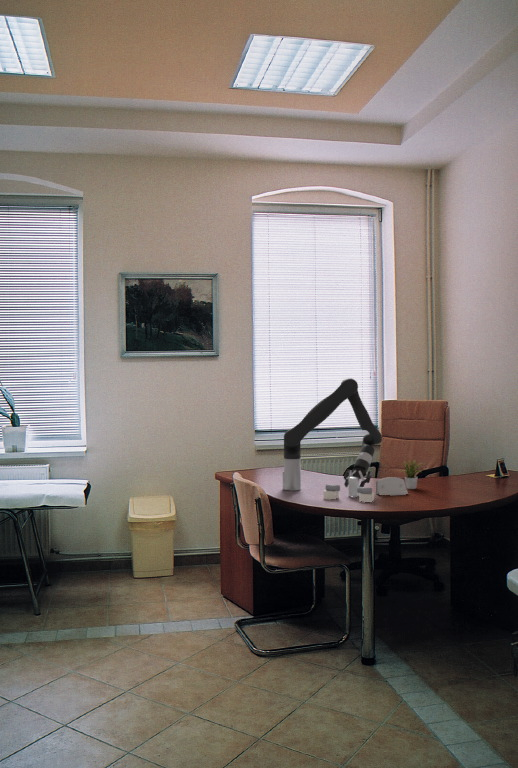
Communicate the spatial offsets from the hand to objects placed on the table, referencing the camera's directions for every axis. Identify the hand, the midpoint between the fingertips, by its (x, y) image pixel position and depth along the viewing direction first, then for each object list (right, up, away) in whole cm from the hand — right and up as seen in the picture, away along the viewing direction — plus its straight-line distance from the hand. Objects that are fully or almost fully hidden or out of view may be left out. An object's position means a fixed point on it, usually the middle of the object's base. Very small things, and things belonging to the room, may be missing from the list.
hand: (353, 487), depth 350 cm
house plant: (+36, -4, +21) cm, 41 cm away
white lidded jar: (-12, -5, -3) cm, 13 cm away
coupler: (+1, -5, +1) cm, 5 cm away
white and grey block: (+5, -5, -11) cm, 13 cm away
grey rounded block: (+21, -5, +7) cm, 23 cm away
